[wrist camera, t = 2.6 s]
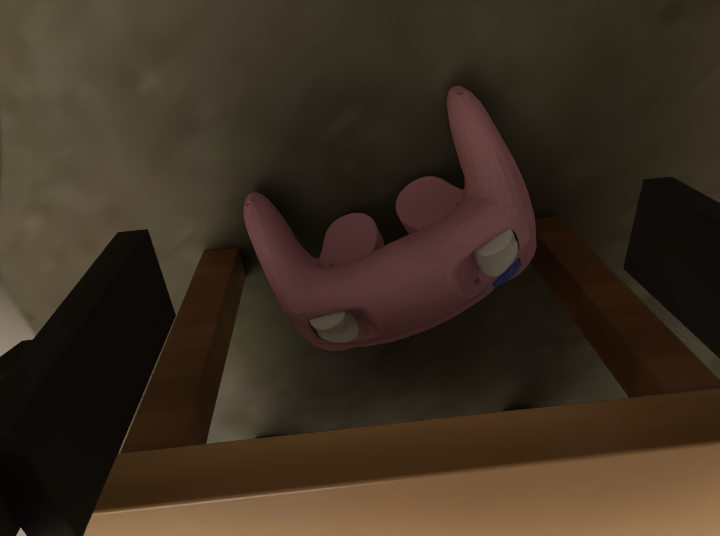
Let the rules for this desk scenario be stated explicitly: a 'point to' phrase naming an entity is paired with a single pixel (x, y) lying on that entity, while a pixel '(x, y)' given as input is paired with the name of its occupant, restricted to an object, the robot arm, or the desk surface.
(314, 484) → the side table
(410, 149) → the desk surface
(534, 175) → the desk surface
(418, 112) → the desk surface
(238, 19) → the desk surface
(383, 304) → the video game controller
